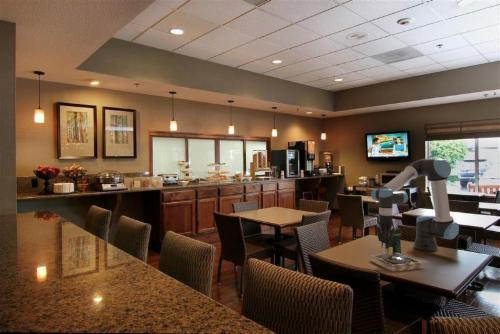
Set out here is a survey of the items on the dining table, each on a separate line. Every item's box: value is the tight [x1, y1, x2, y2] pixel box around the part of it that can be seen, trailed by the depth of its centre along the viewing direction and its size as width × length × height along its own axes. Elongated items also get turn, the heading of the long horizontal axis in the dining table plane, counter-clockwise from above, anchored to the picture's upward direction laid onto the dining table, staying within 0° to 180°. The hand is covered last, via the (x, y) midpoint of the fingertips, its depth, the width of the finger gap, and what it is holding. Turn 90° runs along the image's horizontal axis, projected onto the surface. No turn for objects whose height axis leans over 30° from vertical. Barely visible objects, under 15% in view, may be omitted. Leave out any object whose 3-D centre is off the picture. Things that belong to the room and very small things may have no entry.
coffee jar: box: [387, 226, 402, 254], centre depth 214 cm, size 10×8×19 cm
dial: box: [382, 247, 412, 264], centre depth 195 cm, size 16×16×9 cm
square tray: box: [370, 253, 423, 272], centre depth 195 cm, size 20×20×4 cm
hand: (385, 253), depth 194 cm, fingers closed
